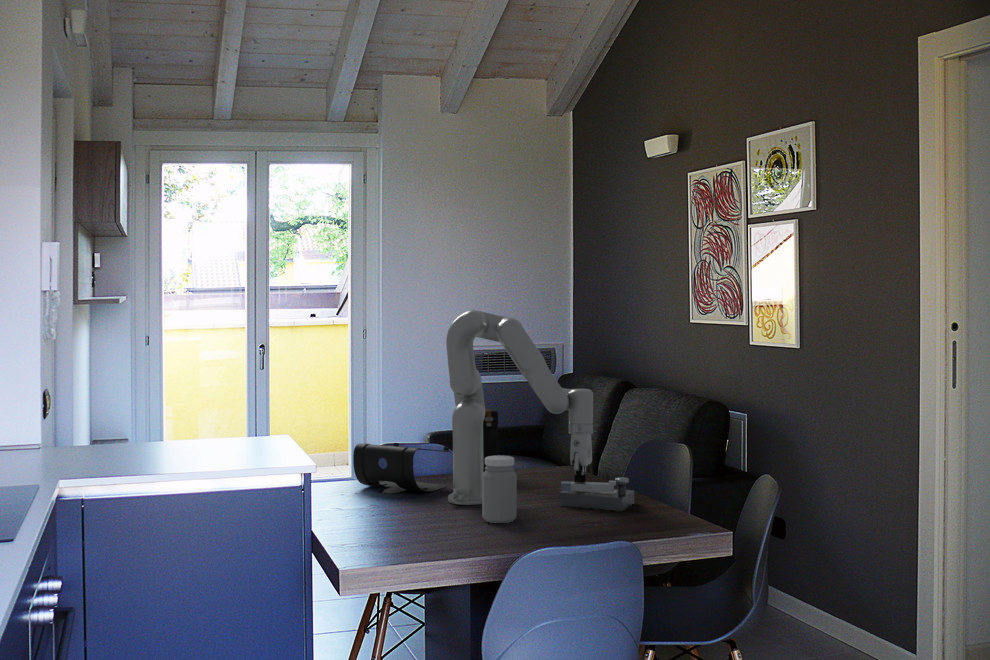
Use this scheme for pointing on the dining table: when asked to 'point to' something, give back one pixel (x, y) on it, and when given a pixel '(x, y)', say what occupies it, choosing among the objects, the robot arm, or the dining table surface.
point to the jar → (499, 490)
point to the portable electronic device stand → (389, 468)
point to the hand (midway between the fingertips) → (580, 487)
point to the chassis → (598, 499)
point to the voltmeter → (490, 435)
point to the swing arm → (592, 485)
